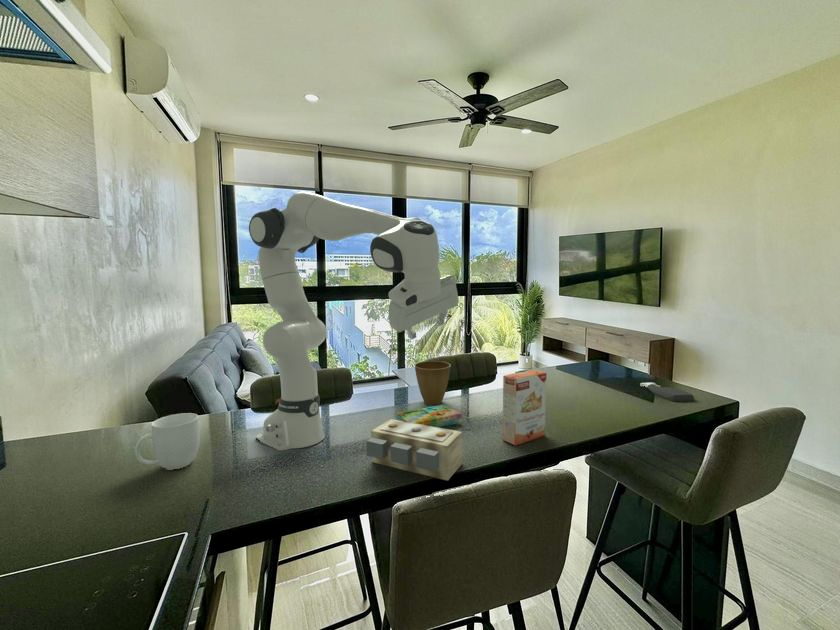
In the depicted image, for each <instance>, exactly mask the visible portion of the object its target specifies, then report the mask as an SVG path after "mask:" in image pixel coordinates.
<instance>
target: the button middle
mask: <svg viewBox="0 0 840 630" xmlns="http://www.w3.org/2000/svg"><path fill="white" fill-rule="evenodd" d="M391 461H392V462H396V463H400V464H404V465H409V464H410V463H411V462H412V461H413V458H412V446H409V445H405V444H400V443H394V444H393V445H392V446H391Z"/></svg>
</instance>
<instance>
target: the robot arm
mask: <svg viewBox="0 0 840 630" xmlns="http://www.w3.org/2000/svg"><path fill="white" fill-rule="evenodd" d="M248 233H249V236H250V239H251V240H252V242H253V243H254V244H255V245H256V246H257V247H260V248H259V249H258V253H257V254H258V256H257V257H258V265H259V272H260V276H261V281H262V284H263V288H264V291H265V295H266V298H267V302H268V304H269V306H270V307H271V308H272V309H274V311H275V312H276V313H277V314H278V315H279V317H280V318H281V320H282V321H280V322H277V323H275V324H273V325H271V326H269V327H268V328H267V329H266V330H265V331H264V334H263V336H262V345H263V348H264V350H265V351H266V352H267V354H269V355H270V357H272V358H273V359H274V362H275V364H276V366H277V368H278V374H279V378H280V392H281V393H280V395H281V396H280V398H277V399H275V401H276V402H275V404H277V403H278V404H277V405H278V406H277V409H276V410H274V411H273V412H272V413H271V414H269V415H268V416H267V417H266V418H265V419H264V422H263V427H262V429H263V430H262V431H260V432H259V433H258V434H257V435H256V436H255V439H256V438H257V439H259V440H261V441H262V442H264V443H266V444H267V445H266V444H265V445H266V446H268V445H269V447H270V446H271V448H272V447H273V448H272V449H274V448H275V450H276V449H277V450H276V451H287V450H291V449H301V448H307V447H311V446H313V445H316V444H318V443H320V442H322V440H324V439H325V437H326V436H325V433H324V432H325V431H324V426H323V425H322V424H323V423H322V418H321V413H320V412H321V411H320V406H321V404H320V394H319V393H318V373H317V369H316V368H315V367H314V366H312V363H311V361H310V358H309V351H312V350H314V349H317V348H318V347H319V346H320V345H321V344H323V342H324V341H325V340H326V338H327V333H328V332H327V327H326V325H325V323H324V322H323V321H322V320H321V319H320V318H318V316H317V315H316V313H315V312H314V310H313V309H312V307H311V305H310V303H309V300H308V299H307V296H306V294H305V290H304V287H303V283H302V280H301V277H300V273H299V270H298V266H297V263H296V254H297V253H301V254H304V253H305V252H306V251H307V250H308V249H309V248H311V247H313V246H314V245H316V244H317V243H318V242H319V240H320V239H321V240H325V241H329V242H337V241H341V240H345V239H348V238H351V237H355V236H359V235H363V234H373V235H377V236H375V237H373V239H372V240H371V243H370V248H369V249H370V250H369V253H370V256H371V259H372V262H373V264H374V265H375V266H376V267H377V268H379V269H380V270H383V271H385V272H389V273H403V274H404V279H402V280H401V282H400V283H398V284H397V285H396V286H394V288H392V289H390V291H388V298H389V299H390V300H391V301H390V302H389V305H388V322H389V326H390V327H391V328H392V329H393V330H394V331H396V332H398V333H402V332H404V331H406V332H407V335H408V336H407V337H408V338H409V339H410V340H414V339H416V338H417V332H416V331H415V330H413V327H414V326H417V325H418V324H421V323H423V322H425V321H428V320H429V319H433V318H434V317H436V316H438V317H437V318H436V320H435V321H436V325H437V326H443V325H445V320H446V317H447V314H448V311H449V310H451V309H453V308H456V307H457V306H458V304H459V295H458V289H457V279H456V277H455V276H454V275H451V274H449V275H446V276H443V277H442V278H441V272H440V269H439V261H440V248H439V247H440V246H439V238H438V235H437V232H436V230H435V227H434V225H432V223H430V222H428V221H427V220H426V221H425V220H422V219H421V218H419V217H413V216H412V217H407V218H406V217H404V218H403V217H399V216H397V215H393V214H389V213H385V212H382V211H379V210H374V209H372V208H366V207H363V206H356V205H352V204H347V203H343V202H340V201H337V200H335V199H334V200H333V199H331V198H329V197H326V196H323V195H320V194H317V193H313V192H308V191H299V192H296V193H294V194H292V195H291V196H290V198H289V199H288V201H287V204H286V207H285V208H284V209H278V208H277V207H272V208H270V209H267V210H263V211H260V212H257V213H255V214H253V216H252V217H251V219H250V220H249V224H248ZM262 442H261V443H262ZM264 443H263V444H264Z"/></svg>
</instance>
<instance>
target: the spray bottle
mask: <svg viewBox="0 0 840 630" xmlns="http://www.w3.org/2000/svg"><path fill="white" fill-rule="evenodd" d="M639 384H640V386H639V387H644V386H645V388H647V389H648V390H649V391H650V392H652V394H654V395H656V396H658V397H660V398H663V399H665V400H668V401H671V402H692V401H694V400H695V397H694V395H693V394H692V393H690V392H688V391H685V390H682V389H679V388H675V387H668V386H667V387H665V386H664V387H663V386H661V385H658V384H656V383H655V382H640V383H639Z"/></svg>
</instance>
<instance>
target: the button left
mask: <svg viewBox="0 0 840 630" xmlns="http://www.w3.org/2000/svg"><path fill="white" fill-rule="evenodd" d="M366 456H368V457H371V458H372V457H375V458H379V459H384V458H385V457H386V456H388V441H386V440H381V439H376V438H371V437H370V438H369V439H368V440H366Z"/></svg>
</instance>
